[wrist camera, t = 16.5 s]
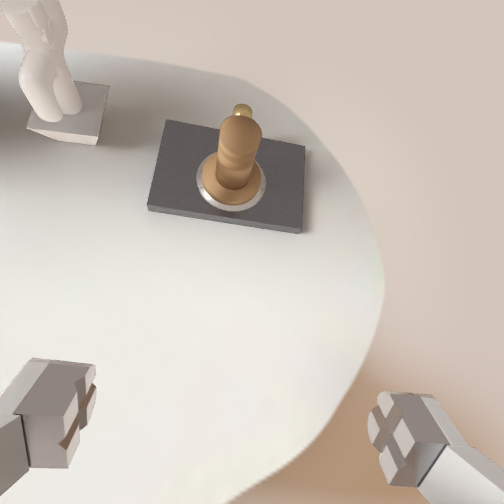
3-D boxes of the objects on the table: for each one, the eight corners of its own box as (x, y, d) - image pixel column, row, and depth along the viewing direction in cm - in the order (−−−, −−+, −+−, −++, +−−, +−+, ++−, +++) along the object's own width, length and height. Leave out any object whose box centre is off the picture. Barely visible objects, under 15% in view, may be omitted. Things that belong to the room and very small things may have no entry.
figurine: (38, 157, 37) (-54, 32, 23) (57, 93, 40) (-15, -50, 26) (105, 164, 38) (54, 50, 24) (117, 102, 41) (79, -31, 28)
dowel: (227, 151, 40) (232, 116, 35) (229, 138, 41) (234, 102, 35) (243, 154, 40) (251, 120, 35) (244, 141, 41) (252, 105, 35)
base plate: (148, 210, 37) (146, 204, 36) (167, 127, 41) (166, 118, 40) (297, 233, 40) (302, 228, 38) (301, 153, 44) (305, 145, 42)
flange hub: (197, 200, 37) (199, 155, 29) (206, 150, 40) (209, 96, 32) (257, 210, 38) (274, 169, 30) (262, 160, 40) (278, 110, 33)
